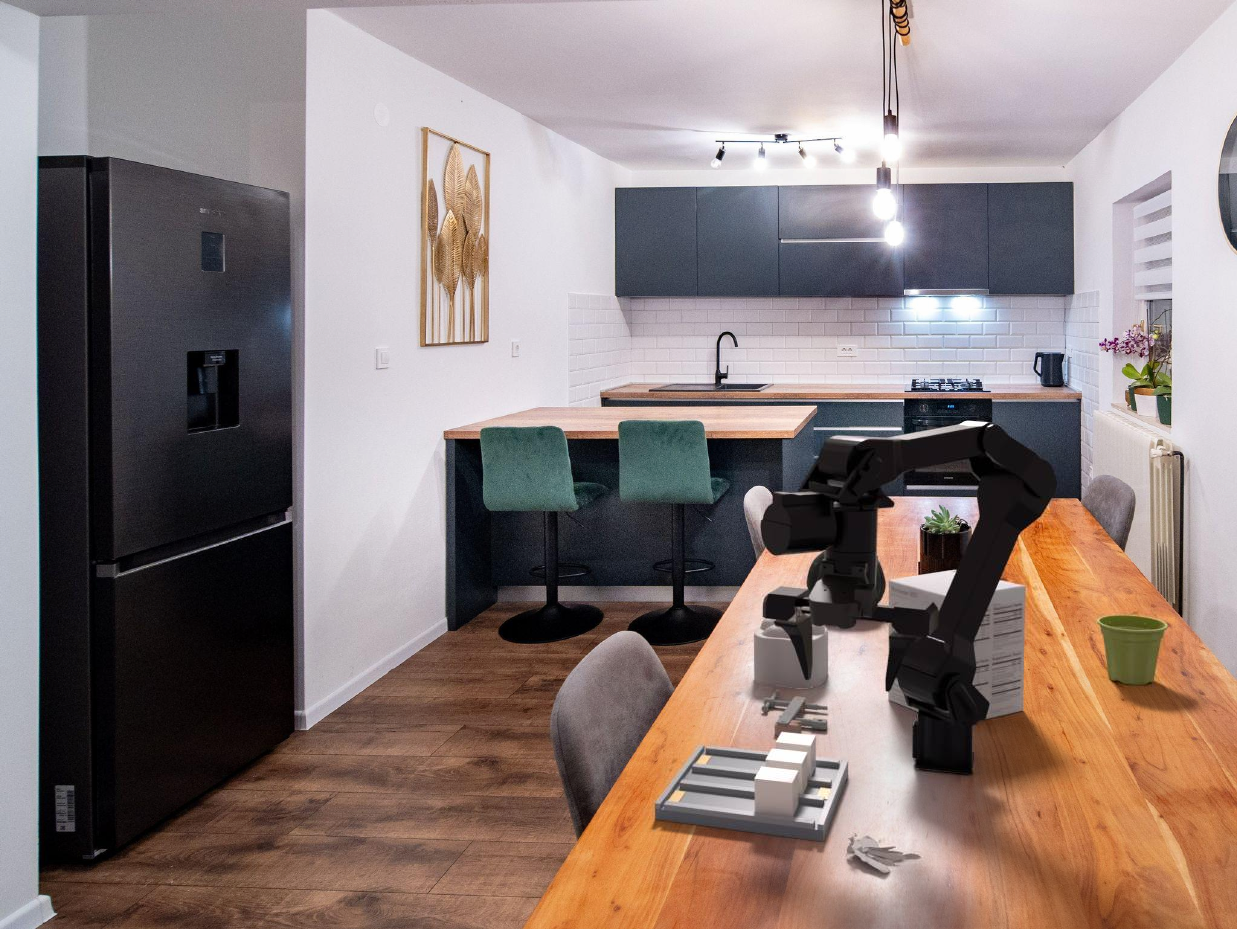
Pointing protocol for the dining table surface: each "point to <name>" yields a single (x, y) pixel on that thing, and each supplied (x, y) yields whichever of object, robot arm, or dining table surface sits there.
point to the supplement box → (979, 639)
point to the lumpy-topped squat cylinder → (787, 657)
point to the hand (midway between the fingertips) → (847, 685)
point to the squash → (816, 571)
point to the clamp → (794, 714)
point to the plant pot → (1131, 647)
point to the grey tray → (748, 794)
